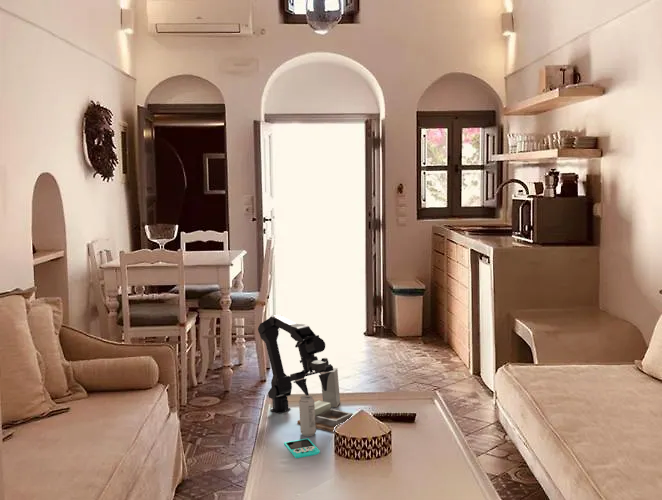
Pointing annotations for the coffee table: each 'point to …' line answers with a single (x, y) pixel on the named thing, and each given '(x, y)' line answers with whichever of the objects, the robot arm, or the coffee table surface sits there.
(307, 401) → the energy drink can
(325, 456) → the coffee table surface
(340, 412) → the port plate
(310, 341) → the robot arm
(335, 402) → the skincare box
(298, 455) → the handheld game console
